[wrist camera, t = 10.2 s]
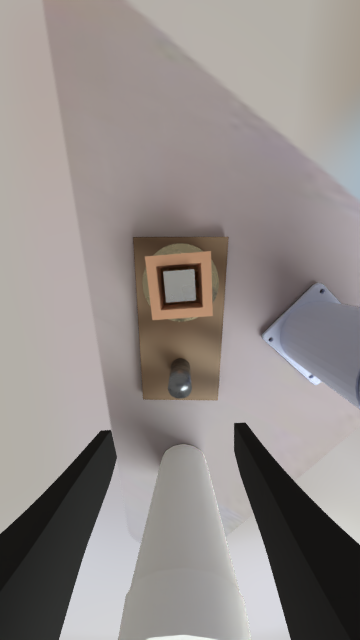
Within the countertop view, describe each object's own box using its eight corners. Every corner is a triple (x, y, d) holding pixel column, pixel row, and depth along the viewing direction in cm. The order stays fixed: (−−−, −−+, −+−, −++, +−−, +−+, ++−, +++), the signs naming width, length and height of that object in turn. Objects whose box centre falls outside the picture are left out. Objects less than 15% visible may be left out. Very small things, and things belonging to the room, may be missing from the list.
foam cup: (197, 493, 25) (213, 710, 12) (141, 473, 24) (96, 683, 12) (228, 449, 23) (284, 657, 10) (167, 425, 22) (147, 620, 10)
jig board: (216, 394, 21) (217, 400, 20) (145, 393, 21) (143, 399, 20) (225, 239, 16) (228, 236, 16) (136, 239, 17) (133, 237, 16)
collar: (205, 256, 16) (210, 250, 13) (207, 309, 17) (212, 316, 14) (151, 260, 16) (144, 256, 13) (157, 313, 17) (152, 320, 14)
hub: (217, 240, 16) (228, 228, 12) (219, 318, 17) (228, 329, 14) (138, 247, 16) (124, 237, 12) (147, 323, 18) (138, 335, 14)
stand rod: (194, 366, 19) (196, 387, 15) (181, 379, 19) (181, 402, 16) (179, 354, 18) (178, 373, 15) (166, 367, 19) (163, 389, 15)
